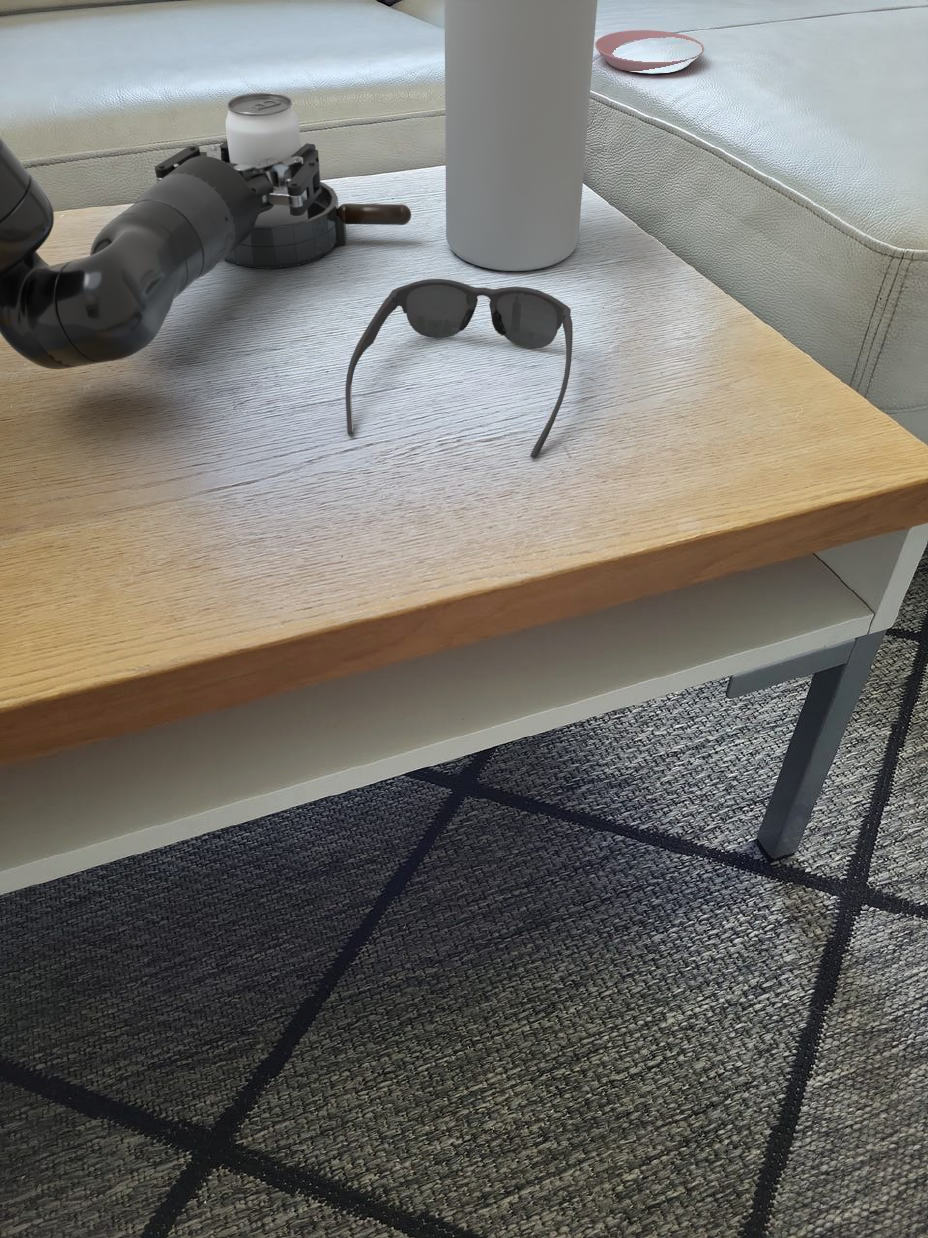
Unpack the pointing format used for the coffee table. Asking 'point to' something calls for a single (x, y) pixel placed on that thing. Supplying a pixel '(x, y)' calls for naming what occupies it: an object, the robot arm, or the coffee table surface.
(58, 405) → the coffee table surface
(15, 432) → the coffee table surface
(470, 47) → the cylinder vase
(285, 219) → the can
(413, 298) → the sunglasses
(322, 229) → the pan
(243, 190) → the robot arm
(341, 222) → the pan handle
